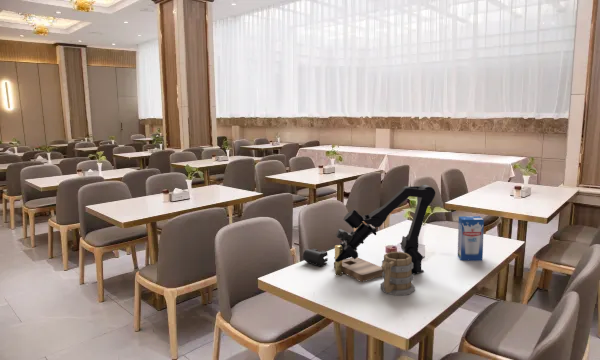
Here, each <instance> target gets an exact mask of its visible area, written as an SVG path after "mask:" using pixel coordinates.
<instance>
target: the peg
mask: <svg viewBox="0 0 600 360" xmlns="http://www.w3.org/2000/svg"><path fill="white" fill-rule="evenodd" d="M341 252H342V246H341V245H340V244H336V245H334V257H335V258H334V262H335V269H334V270H335V271H334V275H335V274H336V275H335V276H342V275H343V272H342V261H339V262H336V261H335V260H336V258H337V257H338V256H339V254H340V253H341Z"/></svg>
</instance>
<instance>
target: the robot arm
mask: <svg viewBox="0 0 600 360" xmlns="http://www.w3.org/2000/svg"><path fill="white" fill-rule="evenodd" d="M410 197H414V198H416V200H417V201H416V203H417V204H416V208H415V211H414V213H413V214H414V215H413V217H412V221H411V225H410V227H409V230H408V233H407V235H406V236H404V235H402V237H401V238H402V239H401V242H399V244H400V249H401V252H402V251H403V253H407V254H409V255H410V256H411V257H412V262H413V269H412V272H411V273H412V274H413V275H416V274H421V273H423V272H424V269H422V261H423V258H424V255H422V254H421V252H420V251H419V236H420V233H421V229H422V227H423V223H424V220H425V216H426V214H427V210H428V207H429V206H430V205H431V204H432V203H433V200H434V199H435V197H436V191H435V189H434V188H433V187H432V186H430V185H428V184H422V185H420V186H419V185H418V186H417V185H414V186H407V185H405V186H403V187H401V190H399V191H398V192H397V193H395V195H394V196H392V197H391V198H390V199H389V200H387V202H386V203H385V204H384V205H382V206H381V207H379V208H376V209H374V210H373V211H371V212H370V213H368V214H364V215H361V214H360V213H359V212H358V211H357V210H356V209H355V208H354V209H352V210H350V211H349V212H347V213H346V214H345V216H344V217H343V221H344V222H345V223H346V224H347V225H348V226H349V227H351V228H352V229H355V230H354V231H353V230H351V231H350V232H348V231H346V230H344V229H341V228H337V232H336V234H335V236H336V238H338V239H339V240H340V241H339V245H341V246H342V252H341V253H340V254H339V256H338V257H337V258H336V260H335V256H334V262H335V261H336V262H339V261H342V260H344V259H348V258H352V257H353V258H354V259H356V258H357V257H358V258H359V253H358V247H359V246H360V245H361V244H362V245H363V244H365V243H364V241H365V240H366V239H367V238H368V237H369V236H370V235H371V234H373V235H374V236H376V235H377V228H380V227H382V225H383V224H384V223H385V222H386V220H387V218H388V217H389V215H390V214H391V213H393V211H394V210H396V209H397V208H398V207H399V206H400V205H401V204H403V203H404V201H406V200H407V199H408V198H410ZM341 241H342V242H341Z"/></svg>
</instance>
